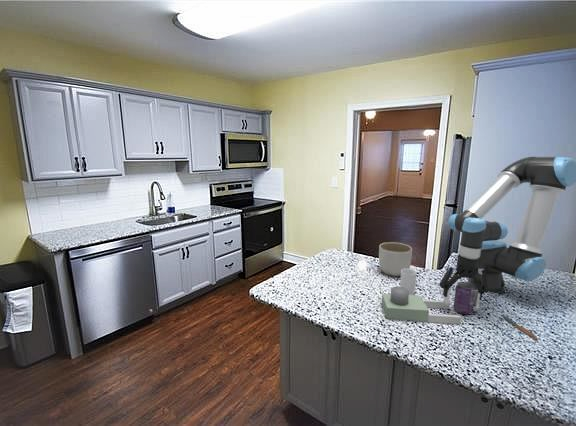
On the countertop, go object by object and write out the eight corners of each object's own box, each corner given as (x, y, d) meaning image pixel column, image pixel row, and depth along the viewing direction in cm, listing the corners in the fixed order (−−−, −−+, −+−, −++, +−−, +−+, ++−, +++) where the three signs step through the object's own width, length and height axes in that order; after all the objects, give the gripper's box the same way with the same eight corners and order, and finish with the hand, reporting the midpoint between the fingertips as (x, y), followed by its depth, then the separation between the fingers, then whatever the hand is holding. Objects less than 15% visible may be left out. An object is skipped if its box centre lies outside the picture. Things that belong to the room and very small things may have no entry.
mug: (416, 299, 132) (418, 275, 129) (401, 298, 133) (403, 274, 130) (410, 288, 142) (412, 266, 139) (396, 288, 143) (397, 265, 140)
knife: (495, 313, 118) (502, 313, 118) (495, 315, 118) (502, 315, 119) (533, 339, 102) (540, 338, 102) (532, 341, 102) (540, 341, 102)
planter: (383, 264, 172) (384, 240, 169) (413, 270, 162) (415, 245, 159) (373, 274, 159) (374, 248, 155) (405, 282, 149) (407, 254, 146)
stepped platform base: (448, 307, 124) (450, 286, 122) (460, 324, 113) (463, 301, 110) (381, 303, 129) (382, 282, 127) (386, 319, 117) (387, 296, 115)
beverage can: (470, 308, 124) (473, 282, 121) (474, 317, 117) (478, 290, 115) (451, 305, 126) (454, 280, 123) (455, 314, 119) (458, 287, 117)
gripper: (495, 254, 118) (485, 303, 123) (435, 250, 122) (428, 297, 126) (505, 261, 111) (495, 312, 116) (441, 256, 114) (434, 306, 119)
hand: (460, 304), depth 121 cm, fingers open, 11 cm apart
